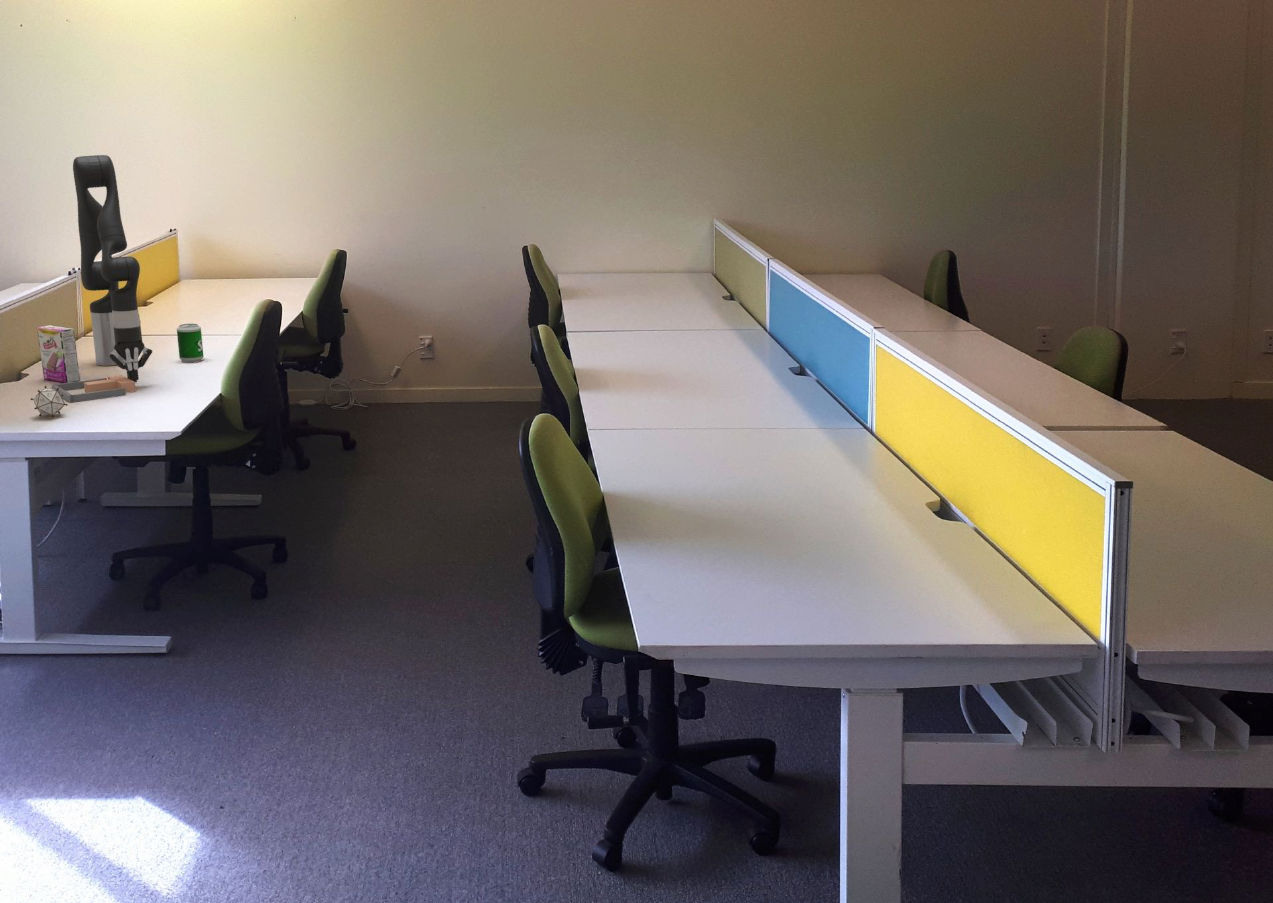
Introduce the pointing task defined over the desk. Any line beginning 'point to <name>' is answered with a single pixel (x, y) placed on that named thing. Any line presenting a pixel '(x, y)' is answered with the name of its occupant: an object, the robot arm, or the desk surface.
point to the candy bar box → (58, 354)
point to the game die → (49, 401)
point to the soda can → (190, 343)
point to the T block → (110, 384)
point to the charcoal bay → (85, 396)
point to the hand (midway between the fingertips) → (133, 382)
